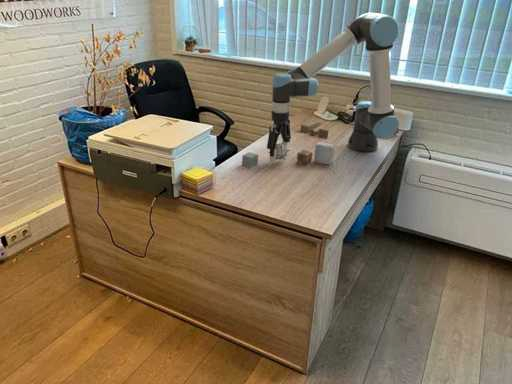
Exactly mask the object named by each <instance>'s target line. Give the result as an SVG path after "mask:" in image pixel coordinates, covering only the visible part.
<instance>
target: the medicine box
mask: <svg viewBox="0 0 512 384" xmlns="http://www.w3.org/2000/svg"><path fill="white" fill-rule="evenodd" d="M334 153H335V144H332V143H326V142H322V141H321V142H320V141H318V142H317V143H316V144H315V149H314V158H313V162H314V163H318V164H323V165H324V164H325V165H328V166H331V164H333V162H334V157H335V156H334V155H335V154H334Z"/></svg>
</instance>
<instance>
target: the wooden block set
mask: <svg viewBox="0 0 512 384" xmlns="http://www.w3.org/2000/svg"><path fill="white" fill-rule="evenodd" d="M300 132H301V133H303V132H304V133H305V134H310V135H311V136H313V135H314V136H316V135H318V137H319V136H320V138H323V137H324V139H327V138H328V139H329V129H328V128H327V126H325V124H322V121H321V119H320V118H316V117H315V119H311V120H308V121H306V122H304V123H302V124H300ZM309 132H310V133H309ZM304 133H303V134H304Z"/></svg>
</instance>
